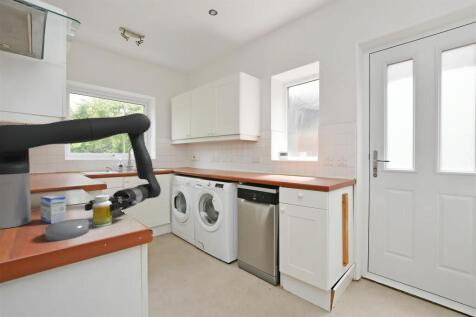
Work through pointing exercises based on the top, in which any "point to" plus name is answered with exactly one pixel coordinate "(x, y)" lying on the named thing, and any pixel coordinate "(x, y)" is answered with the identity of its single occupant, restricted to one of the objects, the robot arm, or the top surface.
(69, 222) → the plinth
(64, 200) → the medicine box
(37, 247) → the top surface
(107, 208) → the supplement bottle
